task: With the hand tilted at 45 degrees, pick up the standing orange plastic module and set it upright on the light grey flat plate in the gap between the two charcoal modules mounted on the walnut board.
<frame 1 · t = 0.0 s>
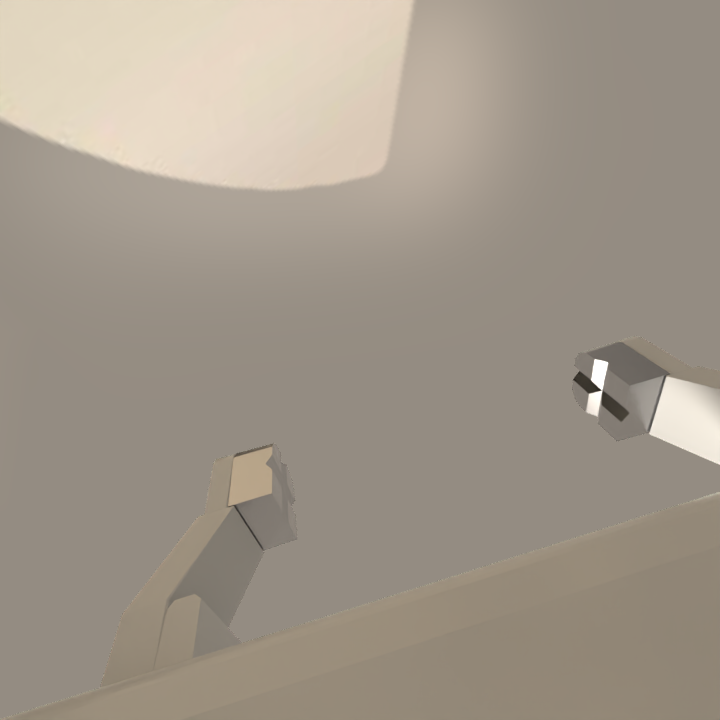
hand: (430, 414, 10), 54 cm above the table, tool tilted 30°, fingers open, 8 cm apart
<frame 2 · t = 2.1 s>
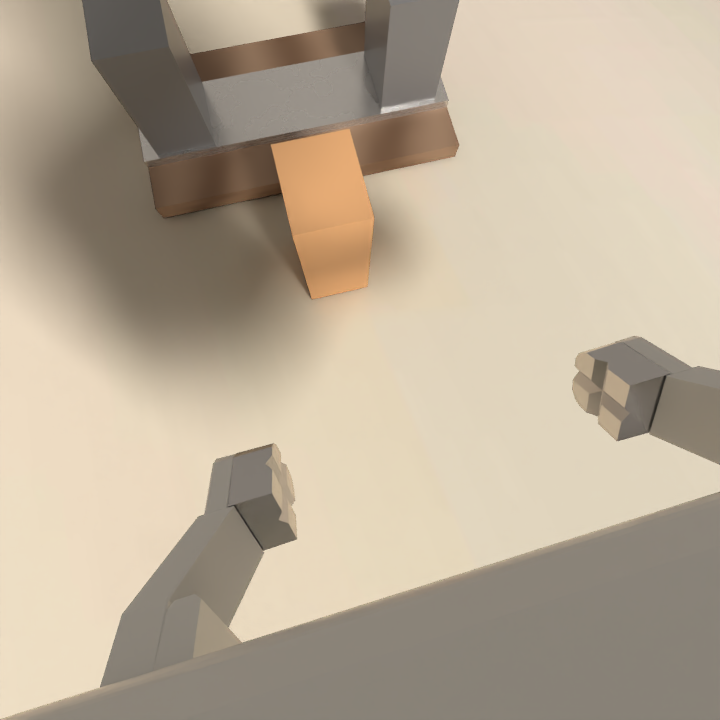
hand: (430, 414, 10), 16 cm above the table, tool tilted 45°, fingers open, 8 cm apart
light grey flat plate: (292, 101, 28), on the board, point 1 cm above the table
mounted modules: (283, 50, 25), on the light grey flat plate, point 5 cm above the table
module: (331, 260, 28), on the table
board: (295, 117, 30), on the table
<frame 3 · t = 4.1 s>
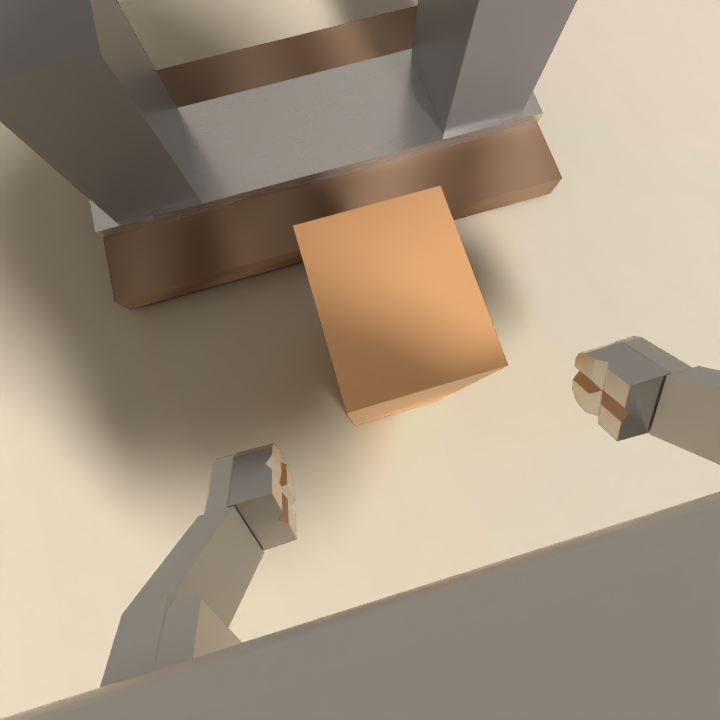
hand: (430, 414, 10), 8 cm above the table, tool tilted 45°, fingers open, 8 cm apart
light grey flat plate: (310, 127, 19), on the board, point 1 cm above the table
mounted modules: (298, 53, 16), on the light grey flat plate, point 5 cm above the table
module: (380, 362, 18), on the table
board: (314, 150, 21), on the table
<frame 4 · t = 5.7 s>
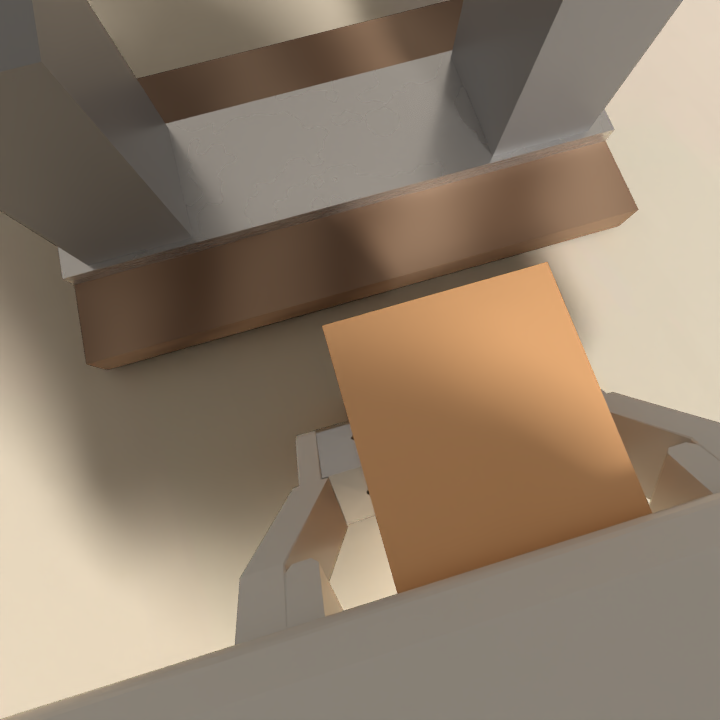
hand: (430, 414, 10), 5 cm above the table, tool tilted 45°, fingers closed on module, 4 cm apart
light grey flat plate: (328, 147, 16), on the board, point 1 cm above the table
mounted modules: (317, 57, 12), on the light grey flat plate, point 5 cm above the table
module: (415, 438, 15), on the table, touching gripper
board: (331, 172, 17), on the table
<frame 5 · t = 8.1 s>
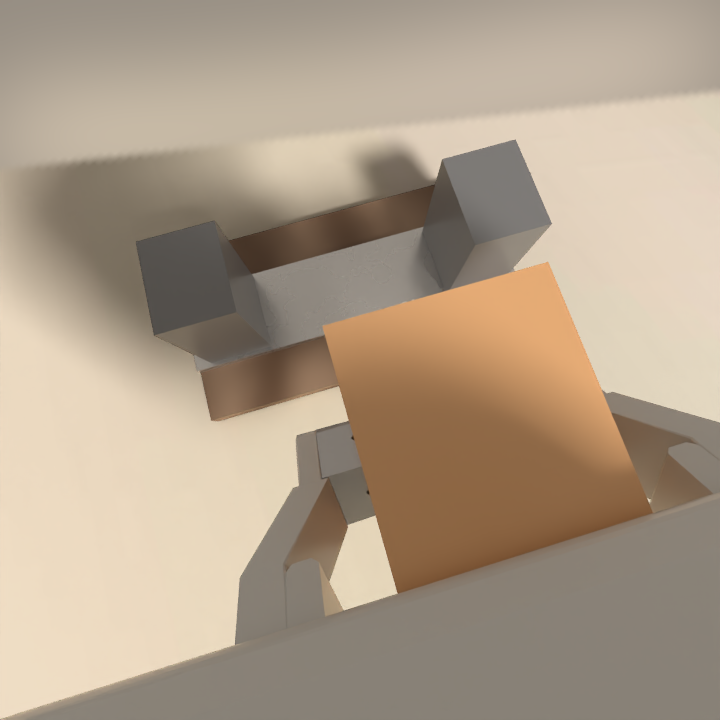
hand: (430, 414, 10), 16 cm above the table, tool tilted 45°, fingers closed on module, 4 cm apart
light grey flat plate: (349, 288, 26), on the board, point 1 cm above the table
mounted modules: (346, 263, 23), on the light grey flat plate, point 5 cm above the table
module: (415, 438, 15), point 11 cm above the table, touching gripper
board: (350, 296, 28), on the table
when the fingers open (8 cm above the table, at t = 10.6 s): module drops 1 cm, resting on light grey flat plate.
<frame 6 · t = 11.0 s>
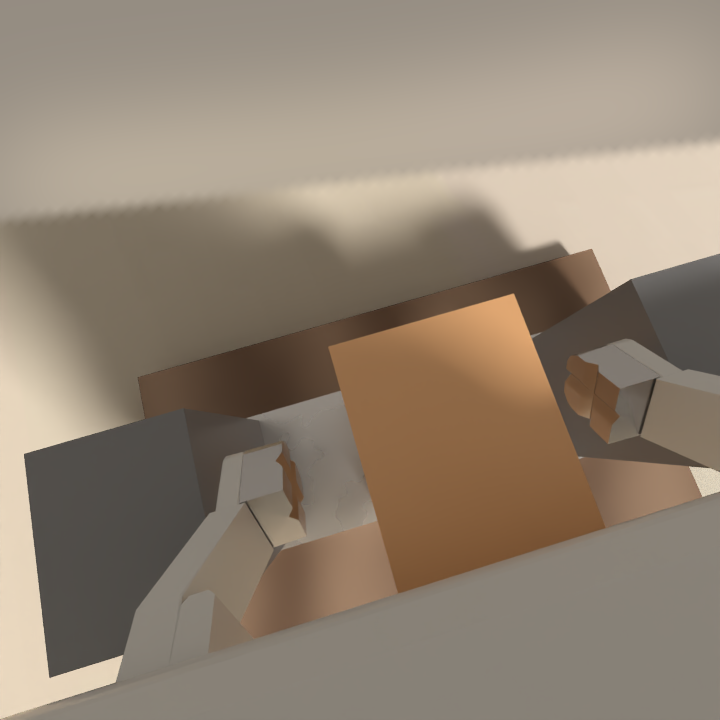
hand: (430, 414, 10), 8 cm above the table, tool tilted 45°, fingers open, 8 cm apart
light grey flat plate: (410, 437, 17), on the board, point 1 cm above the table
mounted modules: (423, 437, 13), on the light grey flat plate, point 5 cm above the table
module: (410, 438, 16), point 2 cm above the table, touching light grey flat plate
board: (406, 437, 18), on the table
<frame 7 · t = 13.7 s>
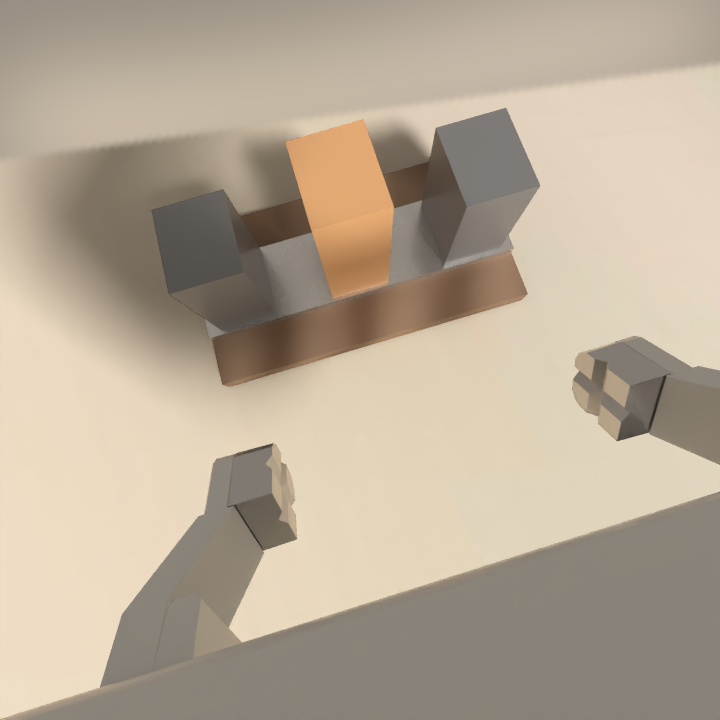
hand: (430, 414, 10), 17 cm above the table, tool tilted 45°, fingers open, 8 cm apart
light grey flat plate: (351, 259, 28), on the board, point 1 cm above the table
mounted modules: (347, 232, 24), on the light grey flat plate, point 5 cm above the table
module: (350, 258, 27), point 2 cm above the table, touching light grey flat plate
board: (352, 268, 29), on the table
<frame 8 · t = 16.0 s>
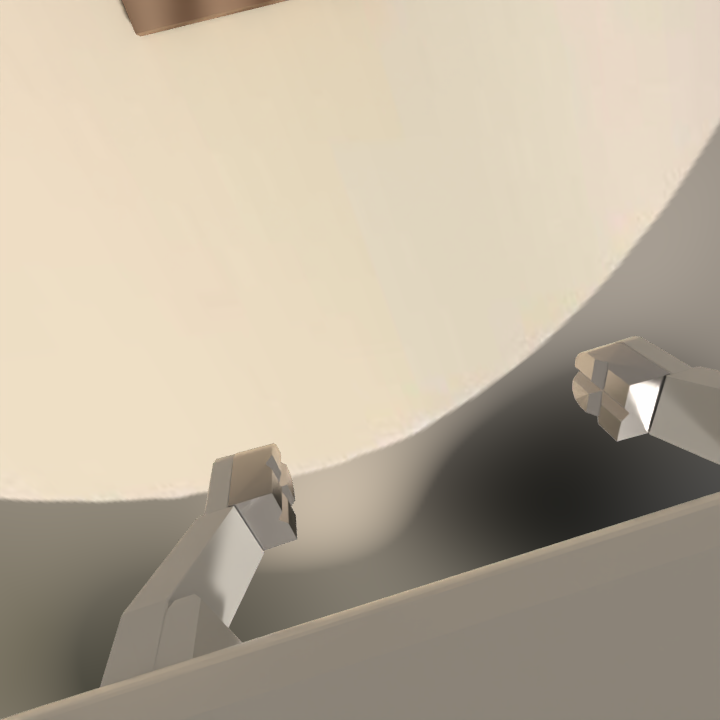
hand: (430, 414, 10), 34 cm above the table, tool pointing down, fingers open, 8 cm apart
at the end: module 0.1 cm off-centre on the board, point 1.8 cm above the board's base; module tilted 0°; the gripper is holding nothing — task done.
